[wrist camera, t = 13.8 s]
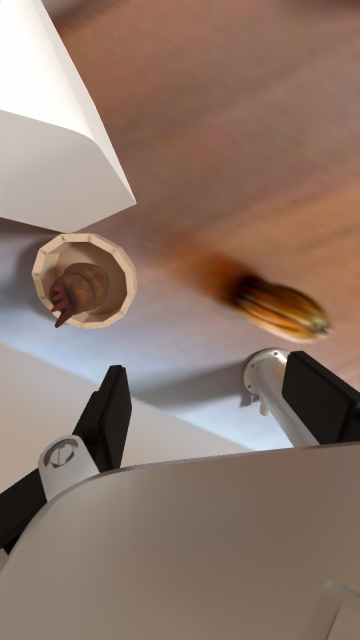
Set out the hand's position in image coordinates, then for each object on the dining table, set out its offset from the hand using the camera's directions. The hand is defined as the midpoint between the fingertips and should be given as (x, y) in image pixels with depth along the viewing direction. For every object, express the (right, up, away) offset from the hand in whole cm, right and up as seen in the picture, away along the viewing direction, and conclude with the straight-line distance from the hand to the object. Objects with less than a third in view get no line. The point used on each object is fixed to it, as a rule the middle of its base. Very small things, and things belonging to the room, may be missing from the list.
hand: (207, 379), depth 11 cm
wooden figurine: (-16, +10, +22) cm, 29 cm away
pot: (-16, +10, +22) cm, 29 cm away
